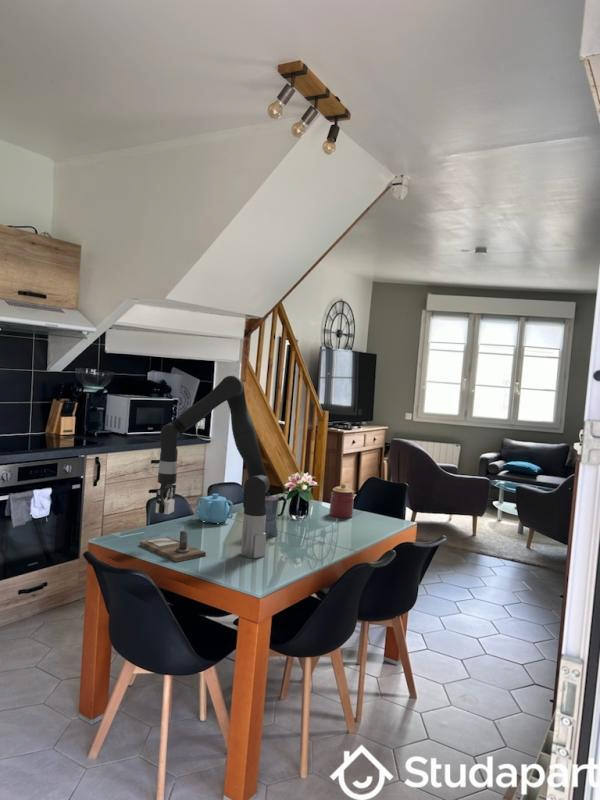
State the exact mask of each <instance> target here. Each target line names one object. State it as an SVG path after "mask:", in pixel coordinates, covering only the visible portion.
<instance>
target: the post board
mask: <svg viewBox="0 0 600 800" xmlns="http://www.w3.org/2000/svg"><path fill="white" fill-rule="evenodd" d="M188 533H189V531H188V530H180V533H179V540H178V539H175V538H173V537H171V536H165V537H158V538H152V539H147V540H141V541H139V545H140V546H141V547H143V548H145V549H147V550H149V551H152V552H154V553H157V554H158V553H159V554H158V555H160V554H161V556H163V557H165V556H166V557H165V558H167V557H168V558H167V559H169V558H170V559H169V560H171V559H172V560H171V561H173V560H174V562H176V563H179V562H178V561H180V562H183V561H182V560H184V561H187V560H186V559H189V560H192V559H191V558H194V559H197V558H196V557H198V558H202V557H201V556H203V557H206V554H207V552H206V551H204V550H201V549H199V548H196V547H195V546H192V545H189V544H188Z"/></svg>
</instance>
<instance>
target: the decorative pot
mask: <svg viewBox="0 0 600 800" xmlns="http://www.w3.org/2000/svg"><path fill="white" fill-rule="evenodd" d="M200 500H202V501H201V503H200ZM229 504H230V506H229ZM233 504H234V503H233V502H232V501H231V500H227V498H226V497H225V496H222V495H221V496H220V495H219V493H212V494H211V495H208V496H205V497H204V496H200V497H198V498H197V500H196V506H197V508H195V513H196V514H197V516H198V519H199V520H200V521H205V522H206V523H224V522H226V521H227V520H228V519H232V518H233V517H234V514H233V512H232V510H233V507H234V505H233Z"/></svg>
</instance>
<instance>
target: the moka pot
mask: <svg viewBox="0 0 600 800" xmlns="http://www.w3.org/2000/svg"><path fill="white" fill-rule="evenodd" d="M271 493H272V492H267V493H266V496H265V507H266V521H265V533H266V538H273V537H277V536H278V535H279V534H278V533H279V532H278V525H277V517H282V516H283V514H284V511H285V509H286V505H287V499H286V498H285V496H284V495H281V496H272V495H271ZM281 501H283V505H282V507H281V511H280V513H279V514H277V512H278V506H279V505H278V504H279V502H281Z"/></svg>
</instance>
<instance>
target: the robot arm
mask: <svg viewBox="0 0 600 800" xmlns="http://www.w3.org/2000/svg"><path fill="white" fill-rule="evenodd" d="M245 394H246V393H245V385H244V382H243V381H242V380H241V378H239V377H237V376H235V375H228V376H225V377H224V378H223V379H222V380H221V381H220V382H219V383H218V384H217V385H216V386H215V387H214V388H213V390H211V391H210V392H209V393H208V394H207V395H205V396H204V397H202V398H201V399H200V400H198V401H197V402H195V403H194V404H192V405H191V406H190V407H188V408H186V410H184V411H183V412H182V413H181V414H179V416H178V417H176V418H174V419H173V420H172V421H170V422H168V423H167V424H164V426H162V428H161V430H160V433H159V434H160V435H159V440H160V441H159V442H160V443H159V444H160V451H159V452H160V453H159V454H160V456H159V462H158V463H159V464H158V472H157V473H158V474H157V483H159V485H160V487H159V489H157V488H156V493H155V494H156V500H155V501H156V502H155V504H156V503H158V504H159V513H158V514H163V513H164V509H165V501H166V499H173V500H175V495H176V489H177V485H176V482H177V475H178V474H177V473H178V453H179V452H178V448H177V446H178V445H177V444H178V438H180V436H181V435H183V434H184V433H185V432H186V431H188V430H189V429H191V428H193V427H194V426H196V424H198V423H200V421H203V419H204V418H206V417H207V416H208V415H209V414H210V413H211V412H212V411H214V409H216V408H217V407H219V406H220V405H221V404H223V403H225V402H226V401H227V405H228V408H229V412H230V422H231V423H230V424H231V430H232V435H233V439H234V444H235V446H236V449H237V451H238V453H239V455H240V457H241V459H242V460H243V462H244V465H245V467H246V472H247V476H248V477H247V479H246V481H245V482H244V484H243V485H244V487H243V496H242V497H243V498H242V499H243V500H242V504H243V505H242V507H243V519H242V520H243V521H242V532H241V544H240V545H241V546H240V547H241V548H240V555H241V556H242V557H245V558H251V559H257V558H262V557H265V555H266V546H267V545H266V544H267V543H266V542H267V541H266V540H267V537H266V533H265V521H266V507H265V496H267V493H269V490H270V486H271V483H270V479H269V476H268V474H267V471H266V468H265V466H264V462H263V459H262V455H261V450H260V446H259V442H258V437H257V434H256V429H255V426H254V423H253V419H252V416H251V414H250V412H249V409H248V405H247V399H246V395H245ZM163 499H164V500H163Z"/></svg>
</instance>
